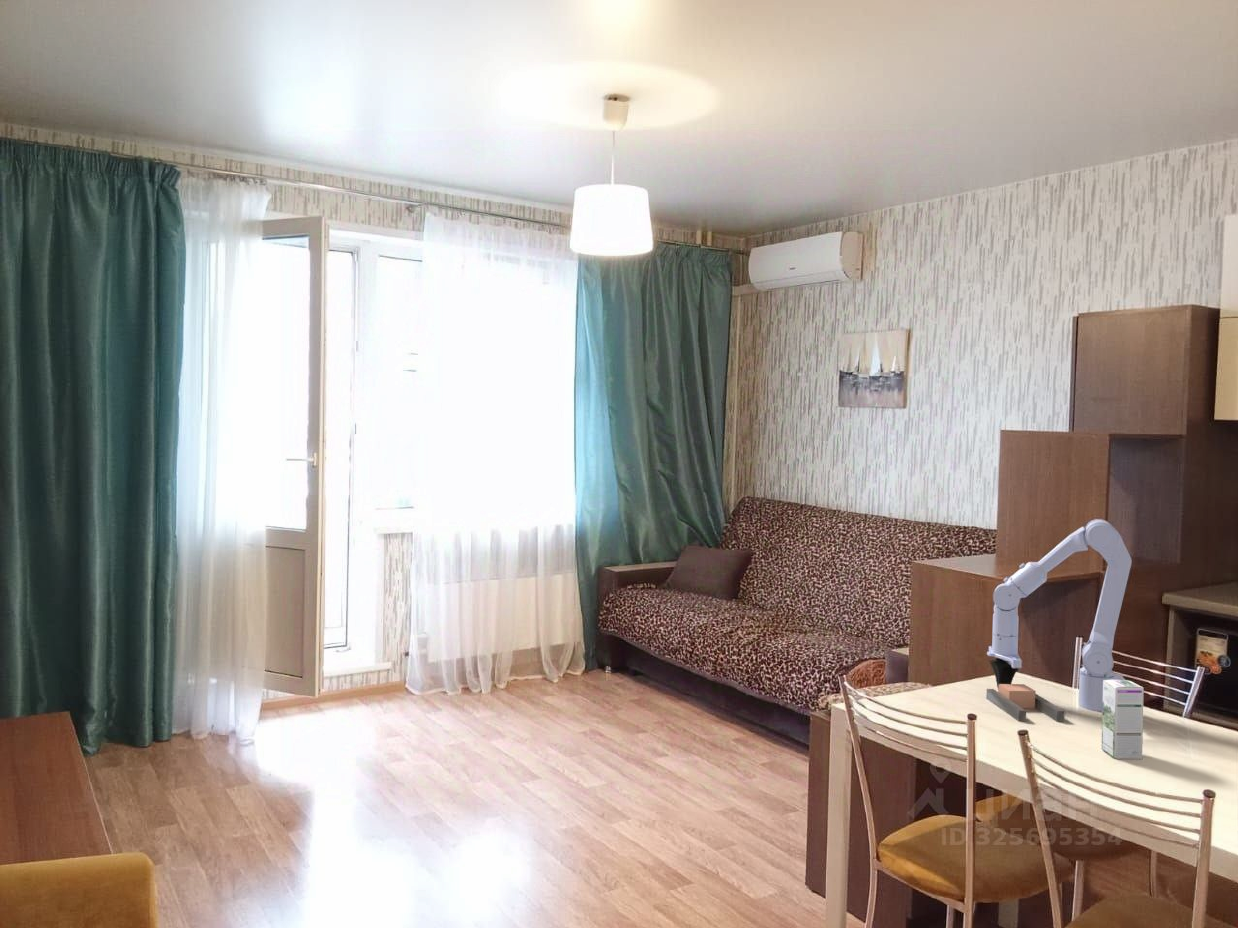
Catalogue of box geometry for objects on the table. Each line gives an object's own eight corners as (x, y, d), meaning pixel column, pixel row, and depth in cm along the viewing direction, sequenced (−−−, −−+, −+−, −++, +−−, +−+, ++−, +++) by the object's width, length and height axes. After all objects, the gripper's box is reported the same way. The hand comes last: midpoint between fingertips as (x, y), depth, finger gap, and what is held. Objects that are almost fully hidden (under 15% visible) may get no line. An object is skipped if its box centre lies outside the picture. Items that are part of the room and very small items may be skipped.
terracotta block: (1023, 701, 231) (1024, 684, 231) (1034, 708, 225) (1035, 691, 225) (998, 700, 231) (998, 683, 231) (1008, 708, 225) (1009, 690, 225)
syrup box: (1143, 759, 194) (1146, 686, 194) (1113, 759, 194) (1115, 686, 194) (1129, 750, 200) (1131, 679, 199) (1099, 749, 200) (1102, 678, 199)
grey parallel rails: (1026, 700, 236) (1027, 685, 236) (1075, 731, 212) (1075, 715, 212) (977, 699, 236) (977, 685, 236) (1019, 730, 212) (1020, 714, 212)
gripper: (976, 627, 242) (975, 682, 242) (1000, 640, 227) (999, 699, 228) (1005, 628, 242) (1003, 683, 242) (1031, 641, 227) (1029, 699, 228)
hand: (1003, 691), depth 235 cm, fingers closed
